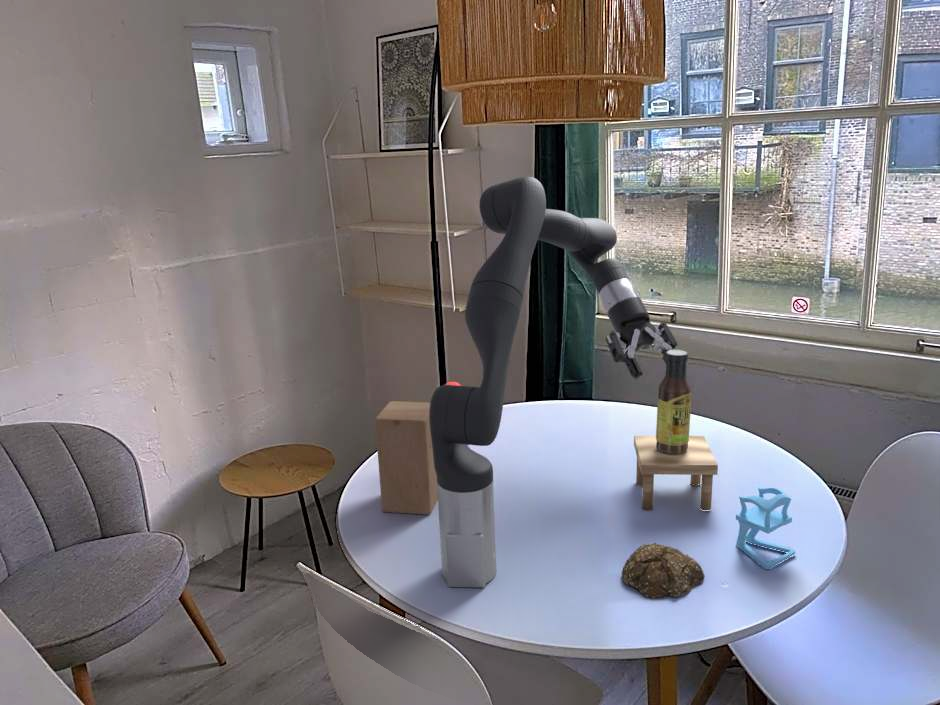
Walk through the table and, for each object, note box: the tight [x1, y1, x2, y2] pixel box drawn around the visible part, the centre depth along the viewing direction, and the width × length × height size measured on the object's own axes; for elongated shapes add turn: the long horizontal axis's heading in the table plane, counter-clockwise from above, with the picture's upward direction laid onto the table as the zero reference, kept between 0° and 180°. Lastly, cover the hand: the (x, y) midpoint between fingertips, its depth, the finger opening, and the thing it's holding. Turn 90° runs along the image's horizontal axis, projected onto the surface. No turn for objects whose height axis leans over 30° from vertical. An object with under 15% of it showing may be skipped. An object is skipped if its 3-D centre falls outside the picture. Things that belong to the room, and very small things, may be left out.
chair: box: [735, 486, 796, 570], centre depth 133 cm, size 8×8×12 cm
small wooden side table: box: [633, 435, 719, 512], centre depth 155 cm, size 14×14×10 cm
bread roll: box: [621, 542, 705, 600], centre depth 128 cm, size 13×12×5 cm
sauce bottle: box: [655, 349, 692, 454], centre depth 150 cm, size 6×6×20 cm
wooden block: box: [374, 400, 438, 516], centre depth 155 cm, size 10×10×20 cm
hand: (656, 373), depth 155 cm, fingers open, 8 cm apart
